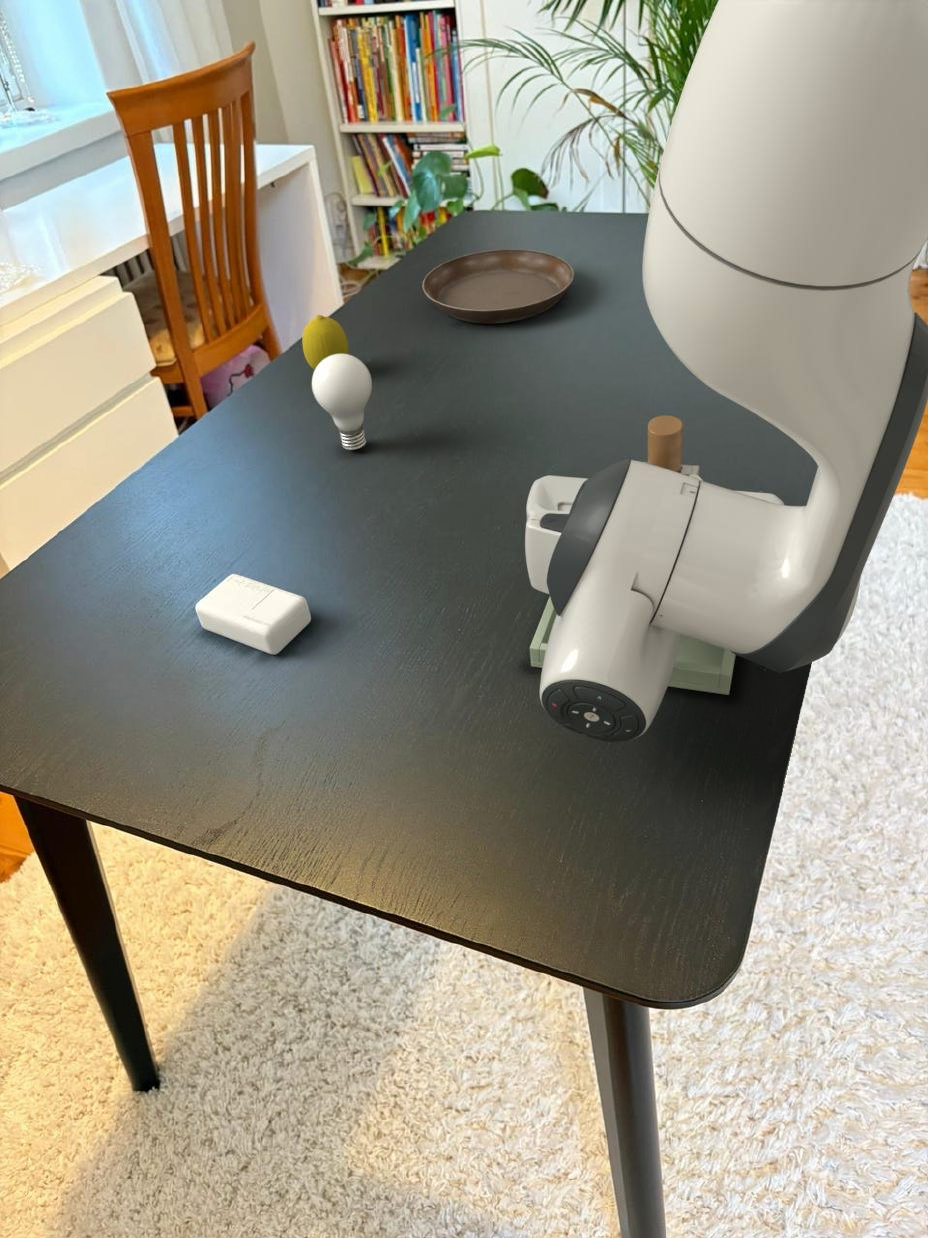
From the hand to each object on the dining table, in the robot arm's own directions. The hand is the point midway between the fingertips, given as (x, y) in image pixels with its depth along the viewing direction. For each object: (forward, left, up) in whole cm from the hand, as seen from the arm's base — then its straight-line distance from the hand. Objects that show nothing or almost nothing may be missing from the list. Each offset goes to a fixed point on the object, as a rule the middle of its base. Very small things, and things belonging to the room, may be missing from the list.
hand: (665, 469), depth 84 cm
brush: (0, 0, -7) cm, 7 cm away
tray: (0, +6, -8) cm, 10 cm away
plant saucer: (+31, -52, -8) cm, 61 cm away
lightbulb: (+36, -12, -8) cm, 39 cm away
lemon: (+46, -28, -8) cm, 54 cm away
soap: (+33, +18, -8) cm, 38 cm away
